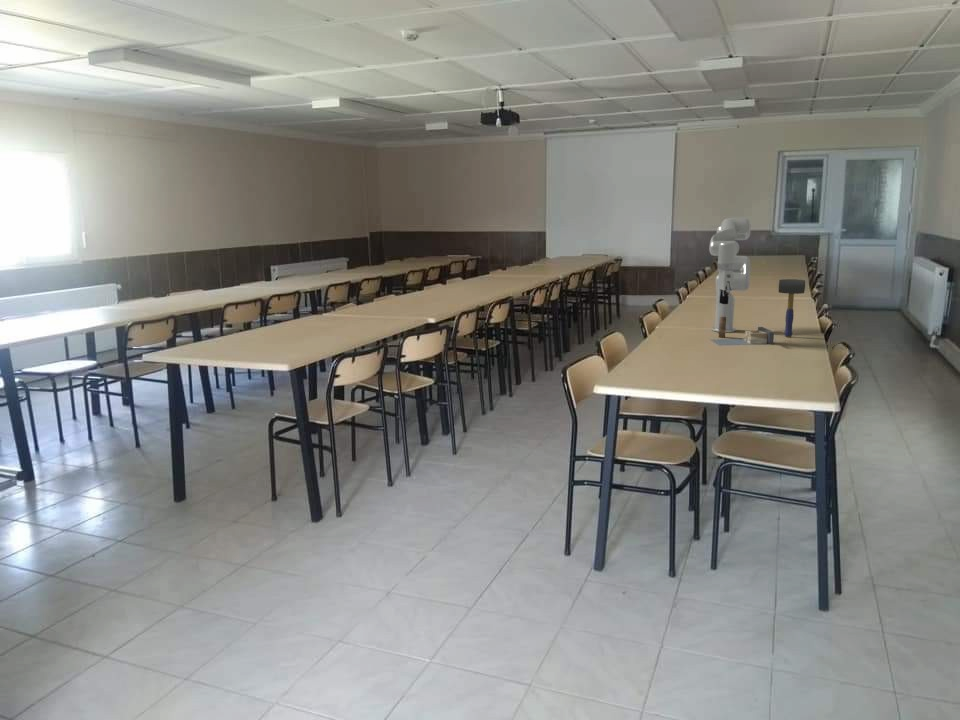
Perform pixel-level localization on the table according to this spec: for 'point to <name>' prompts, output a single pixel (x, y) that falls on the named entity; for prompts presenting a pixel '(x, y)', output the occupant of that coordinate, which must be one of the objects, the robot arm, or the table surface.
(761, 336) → the socket block
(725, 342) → the jig board
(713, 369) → the table surface
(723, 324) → the dowel
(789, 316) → the rubber mallet
